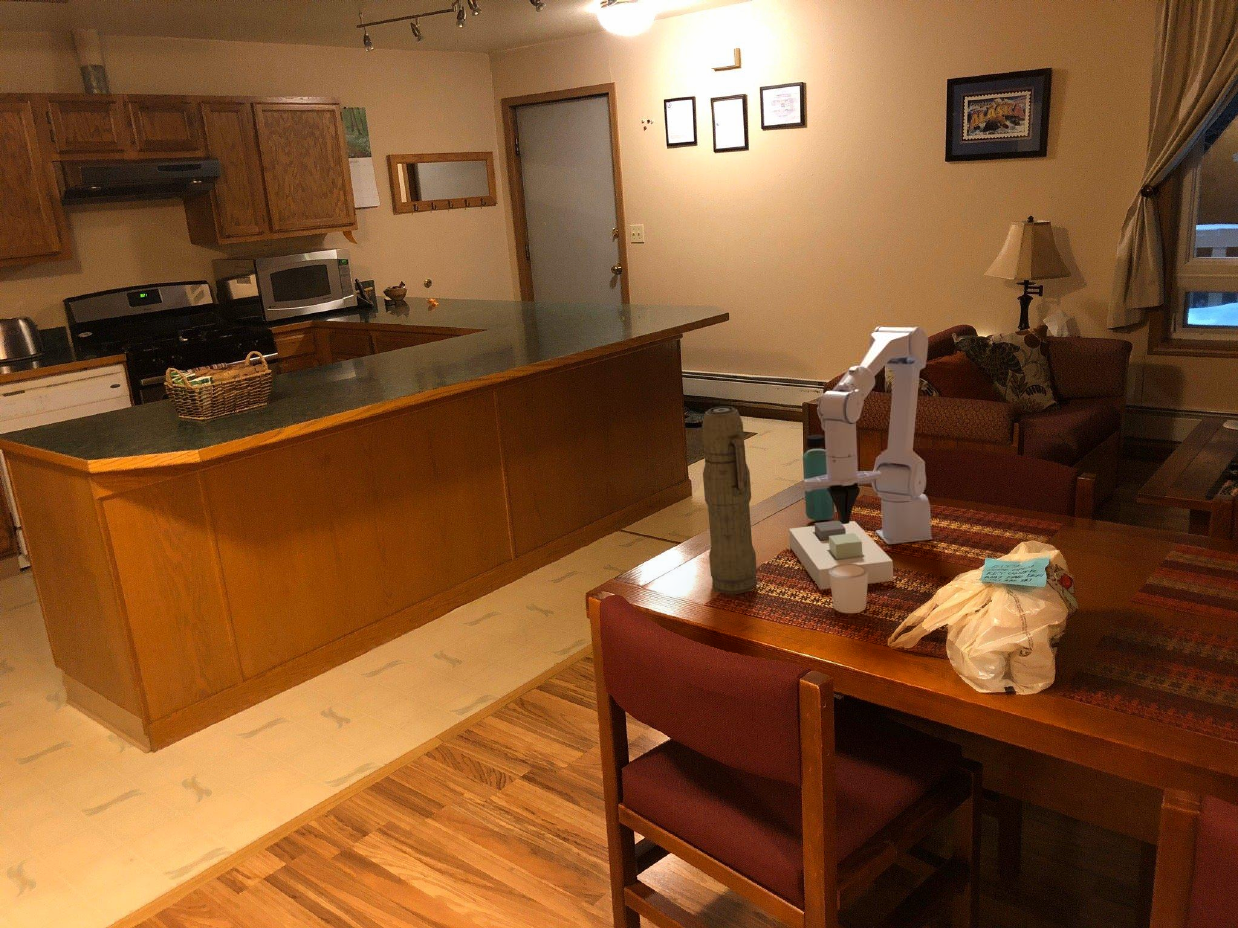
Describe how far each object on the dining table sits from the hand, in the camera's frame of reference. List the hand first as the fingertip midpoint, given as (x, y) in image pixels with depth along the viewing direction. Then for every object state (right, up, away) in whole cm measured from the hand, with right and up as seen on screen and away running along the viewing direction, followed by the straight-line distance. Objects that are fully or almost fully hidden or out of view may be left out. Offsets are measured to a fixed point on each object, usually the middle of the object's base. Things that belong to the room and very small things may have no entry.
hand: (844, 522), depth 187 cm
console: (+1, -9, +8) cm, 12 cm away
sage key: (+1, -6, +2) cm, 6 cm away
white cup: (-2, -15, -12) cm, 19 cm away
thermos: (-21, -13, +2) cm, 24 cm away
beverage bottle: (+2, -2, +32) cm, 32 cm away
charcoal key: (0, -4, +13) cm, 13 cm away
